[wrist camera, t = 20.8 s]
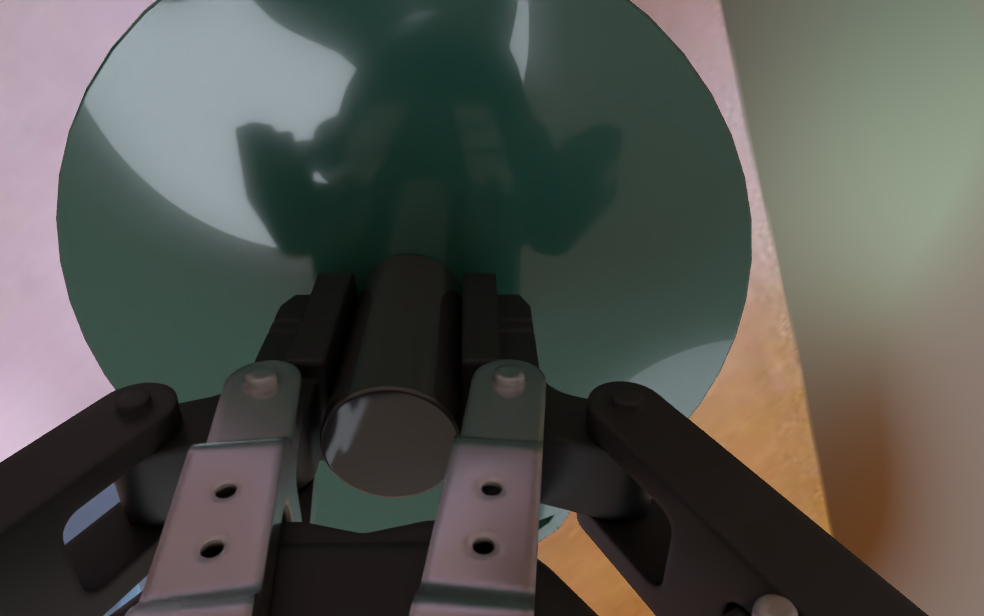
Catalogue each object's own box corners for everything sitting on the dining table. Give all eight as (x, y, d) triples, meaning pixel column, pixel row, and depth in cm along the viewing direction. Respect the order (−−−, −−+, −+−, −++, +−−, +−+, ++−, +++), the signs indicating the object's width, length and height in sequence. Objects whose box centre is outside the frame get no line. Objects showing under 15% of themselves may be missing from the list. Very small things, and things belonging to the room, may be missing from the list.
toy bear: (120, 433, 40) (0, 614, 30) (192, 434, 40) (97, 613, 30) (137, 492, 42) (31, 679, 32) (206, 492, 43) (121, 678, 32)
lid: (-18, -92, 13) (-344, -86, 8) (803, -80, 14) (1013, -67, 8) (160, 514, 21) (55, 723, 16) (685, 509, 21) (756, 711, 16)
